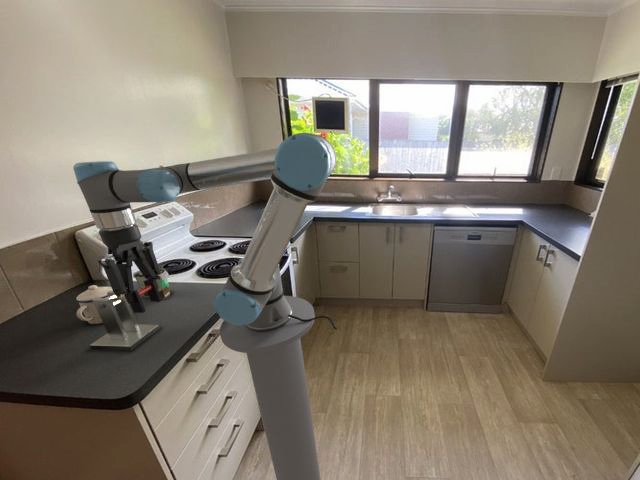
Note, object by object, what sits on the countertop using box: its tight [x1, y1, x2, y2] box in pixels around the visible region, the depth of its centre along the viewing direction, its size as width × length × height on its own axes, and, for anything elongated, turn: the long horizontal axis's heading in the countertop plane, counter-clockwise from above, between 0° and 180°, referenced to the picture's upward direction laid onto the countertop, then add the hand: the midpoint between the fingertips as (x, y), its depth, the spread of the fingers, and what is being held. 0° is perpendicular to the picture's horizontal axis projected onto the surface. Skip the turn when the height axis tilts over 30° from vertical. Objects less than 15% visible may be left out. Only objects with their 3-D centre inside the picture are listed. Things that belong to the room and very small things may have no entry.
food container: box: [132, 267, 171, 300], centre depth 108 cm, size 12×6×10 cm, turn 80°
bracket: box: [89, 291, 160, 351], centre depth 83 cm, size 12×10×15 cm
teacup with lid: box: [75, 284, 113, 325], centre depth 92 cm, size 12×9×12 cm
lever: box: [107, 285, 153, 305], centre depth 80 cm, size 13×5×2 cm, turn 87°
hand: (148, 306), depth 80 cm, fingers closed on lever, 5 cm apart
